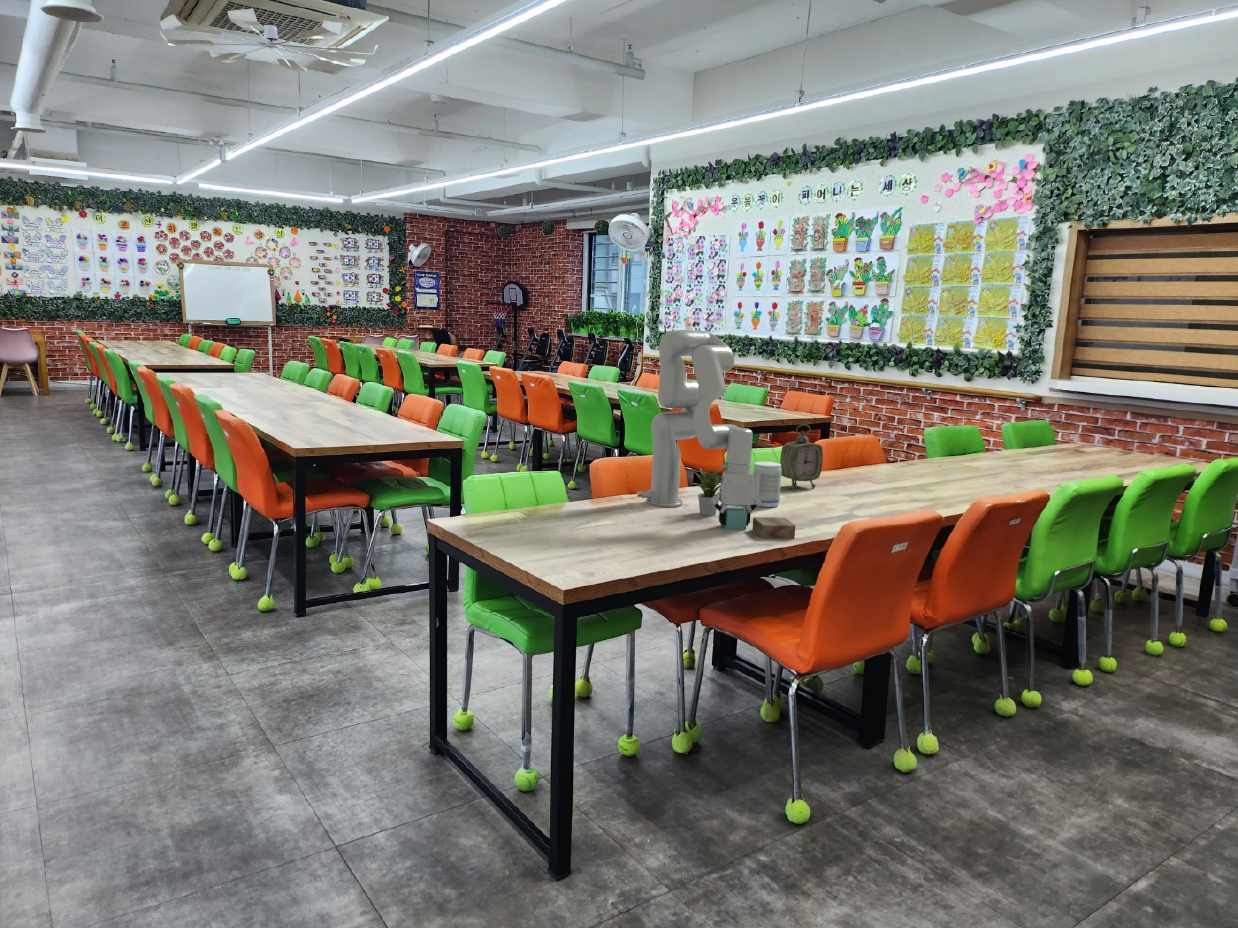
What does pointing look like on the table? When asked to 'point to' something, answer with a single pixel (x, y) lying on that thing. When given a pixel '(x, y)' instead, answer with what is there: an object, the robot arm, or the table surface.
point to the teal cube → (735, 518)
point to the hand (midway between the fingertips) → (734, 524)
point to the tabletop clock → (801, 459)
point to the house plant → (708, 491)
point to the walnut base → (773, 527)
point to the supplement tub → (767, 483)
